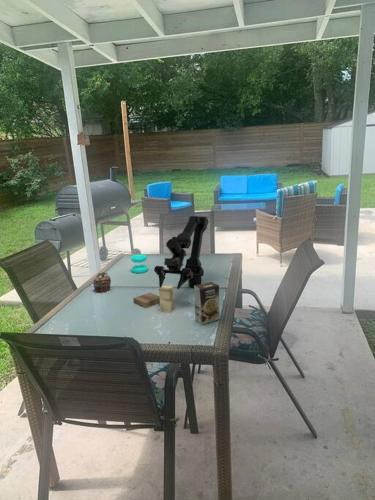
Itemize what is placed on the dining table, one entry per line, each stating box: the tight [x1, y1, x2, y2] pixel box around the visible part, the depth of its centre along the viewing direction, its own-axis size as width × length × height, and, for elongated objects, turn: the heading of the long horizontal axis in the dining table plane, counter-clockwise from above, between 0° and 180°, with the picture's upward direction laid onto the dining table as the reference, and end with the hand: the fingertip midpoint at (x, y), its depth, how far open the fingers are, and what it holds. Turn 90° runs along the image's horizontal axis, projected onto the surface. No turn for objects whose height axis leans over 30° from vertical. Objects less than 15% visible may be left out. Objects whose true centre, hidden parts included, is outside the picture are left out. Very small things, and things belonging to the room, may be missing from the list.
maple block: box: [158, 285, 175, 313], centre depth 182 cm, size 5×5×11 cm
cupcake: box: [92, 271, 112, 294], centre depth 213 cm, size 10×10×10 cm
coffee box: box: [193, 281, 221, 325], centre depth 168 cm, size 9×6×16 cm
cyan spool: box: [130, 253, 149, 274], centre depth 244 cm, size 10×10×10 cm
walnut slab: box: [133, 292, 160, 309], centre depth 193 cm, size 10×10×3 cm
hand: (168, 287), depth 184 cm, fingers open, 9 cm apart
